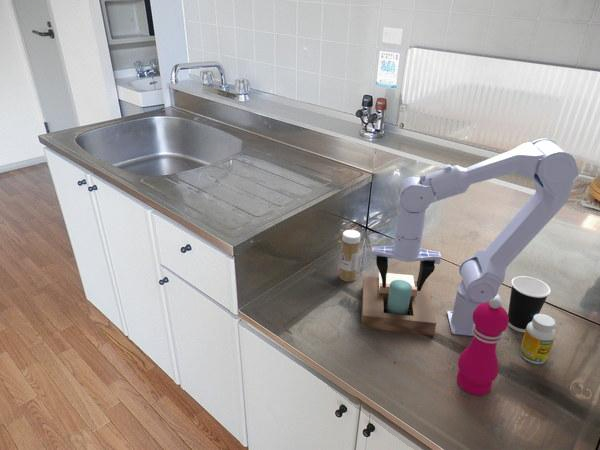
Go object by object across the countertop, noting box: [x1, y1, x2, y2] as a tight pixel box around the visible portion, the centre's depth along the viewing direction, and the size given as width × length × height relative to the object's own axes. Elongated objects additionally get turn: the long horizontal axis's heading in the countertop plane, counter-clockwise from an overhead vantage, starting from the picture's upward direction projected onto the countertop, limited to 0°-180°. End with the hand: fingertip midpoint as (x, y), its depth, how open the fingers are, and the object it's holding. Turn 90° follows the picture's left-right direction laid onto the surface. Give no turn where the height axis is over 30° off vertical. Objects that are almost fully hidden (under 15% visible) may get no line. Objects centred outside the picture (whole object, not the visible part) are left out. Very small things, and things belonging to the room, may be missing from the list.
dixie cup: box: [507, 275, 552, 333], centre depth 102 cm, size 8×8×11 cm
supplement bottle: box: [519, 313, 556, 365], centre depth 93 cm, size 5×5×10 cm
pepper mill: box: [456, 298, 509, 396], centre depth 83 cm, size 7×7×20 cm
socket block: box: [360, 275, 437, 337], centre depth 107 cm, size 16×16×4 cm
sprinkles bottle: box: [339, 229, 361, 283], centre depth 117 cm, size 5×5×14 cm
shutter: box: [378, 271, 417, 297], centre depth 110 cm, size 9×9×3 cm
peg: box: [385, 280, 412, 315], centre depth 103 cm, size 5×5×9 cm
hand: (401, 286), depth 102 cm, fingers open, 7 cm apart
